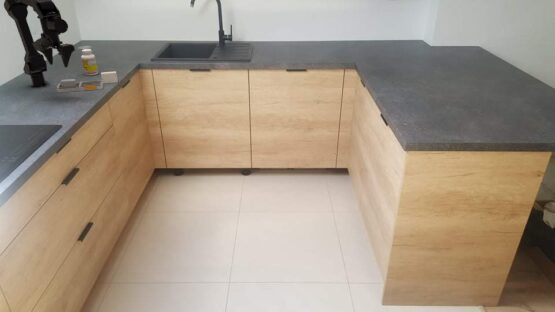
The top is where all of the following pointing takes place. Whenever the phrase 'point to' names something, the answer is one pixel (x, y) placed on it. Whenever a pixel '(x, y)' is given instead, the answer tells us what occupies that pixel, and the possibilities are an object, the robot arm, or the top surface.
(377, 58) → the top surface
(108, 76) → the white panel
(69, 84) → the grey filler panel
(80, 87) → the rack
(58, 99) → the top surface
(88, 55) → the supplement bottle
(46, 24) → the robot arm
